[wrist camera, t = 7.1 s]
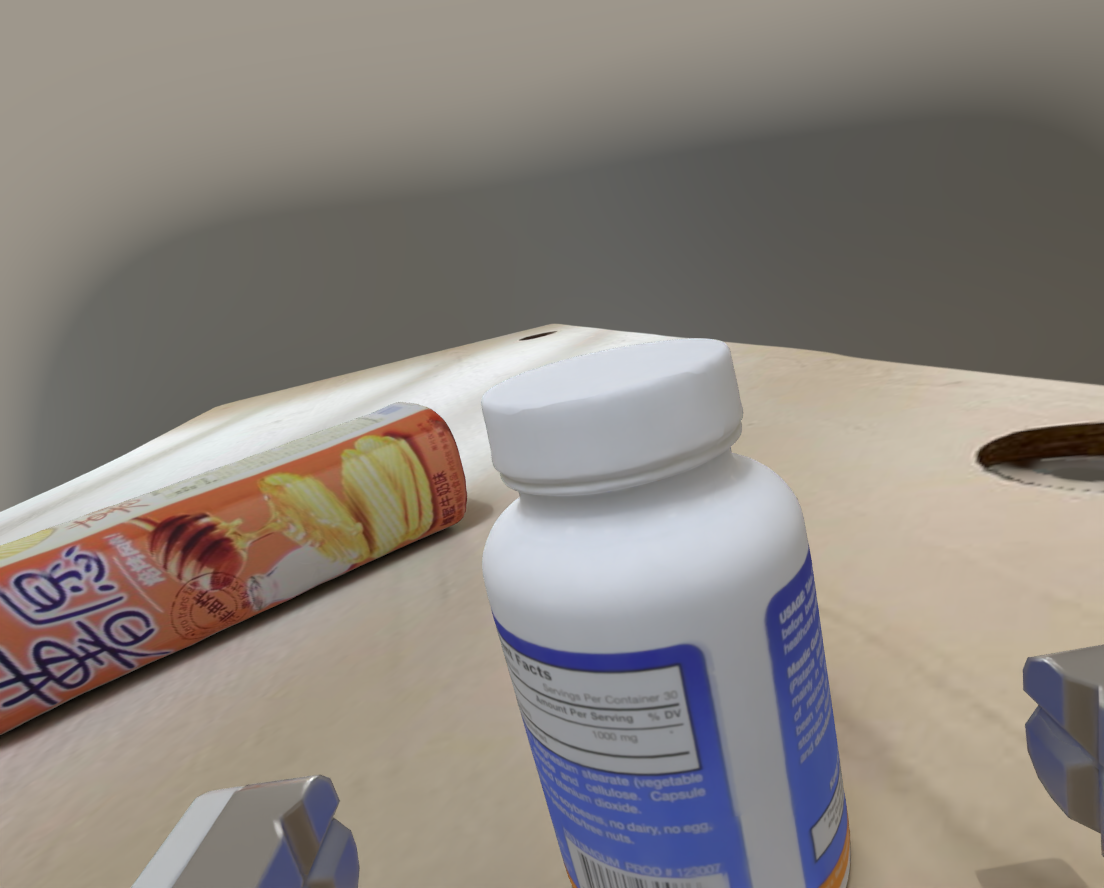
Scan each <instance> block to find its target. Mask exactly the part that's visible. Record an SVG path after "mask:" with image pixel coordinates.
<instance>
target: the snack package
mask: <svg viewBox="0 0 1104 888" xmlns="http://www.w3.org/2000/svg"><path fill="white" fill-rule="evenodd" d="M466 503H467V491H466V481H465V475H464V471H463V467H462V463H461V459H460V455H459V451H458V448H457V445H456V442H455V439H454V437H453V435H452V433H451V431H450V429H449V427H448V425H447V424H446V422H445V421H444V420H443V418H442V417H440V416H439V415H438V414H437V413H436V412H435V411H433V410H432V409H430V408H428V407H425V406H421V405H418V404H414V403H406V402H398V403H394V404H391V405H388V406H386V407H384V408H382V409H380V410H377V411H375V412H373V413H371V414H368V415H365V416H362V417H359V418H356V419H354V420H351V421H348V422H345V423H343V424H340V425H337V426H334V427H331V428H328V429H325V430H322V431H319V432H316V433H314V434H311V435H309V436H306V437H304V438H301V439H297V440H294V441H291V442H289V443H286V444H284V445H281V446H279V447H276V448H273V449H270V450H268V451H265V452H262V453H259V454H256V455H253V456H250V457H247V458H245V459H243V460H240V461H237V462H234V463H231V464H228V465H225V466H222V467H219V468H216V469H213V470H210V471H208V472H205V473H202V474H199V475H197V476H194V477H191V478H188V479H185V480H182V481H180V482H177V483H175V484H172V485H170V486H167V487H164V488H161V489H159V490H156V491H153V492H150V493H147V494H144V495H141V496H138V497H135V498H132V499H130V500H127V501H124V502H122V503H119V504H116V505H113V506H110V507H107V508H104V509H101V510H98V511H95V512H92V513H89V514H87V515H84V516H82V517H79V518H77V519H74V520H71V521H68V522H65V523H62V524H59V525H56V526H53V527H50V528H48V529H45V530H42V531H40V532H37V533H35V534H32V535H30V536H27V537H24V538H21V539H18V540H16V541H13V542H10V543H7V544H4V545H1V546H0V735H2V734H4V733H6V732H8V731H10V730H12V729H14V728H16V727H18V726H19V725H21V724H23V723H25V722H27V721H29V720H31V719H33V718H35V717H37V716H39V715H41V714H43V713H45V712H47V711H49V710H51V709H53V708H55V707H57V706H59V705H61V704H63V703H65V702H67V701H69V700H70V699H73V698H75V697H77V696H79V695H81V694H83V693H85V692H87V691H90V690H92V689H94V688H97V687H99V686H101V685H103V684H106V683H108V682H110V681H112V680H115V679H117V678H119V677H121V676H123V675H126V674H128V673H130V672H132V671H134V670H136V669H138V668H140V667H143V666H145V665H147V664H149V663H151V662H153V661H156V660H158V659H160V658H163V657H165V656H167V655H170V654H172V653H174V652H177V651H179V650H182V649H184V648H186V647H189V646H191V645H193V644H195V643H197V642H199V641H201V640H203V639H205V638H207V637H209V636H211V635H213V634H215V633H217V632H220V631H222V630H224V629H226V628H228V627H230V626H233V625H235V624H237V623H240V622H242V621H244V620H246V619H248V618H250V617H252V616H255V615H257V614H259V613H261V612H263V611H265V610H267V609H270V608H272V607H274V606H277V605H279V604H281V603H283V602H286V601H288V600H290V599H292V598H294V597H296V596H298V595H300V594H302V593H304V592H306V591H308V590H310V589H312V588H314V587H316V586H318V585H320V584H322V583H324V582H327V581H329V580H332V579H334V578H336V577H338V576H341V575H343V574H345V573H347V572H349V571H351V570H353V569H355V568H357V567H359V566H361V565H364V564H366V563H368V562H370V561H373V560H375V559H377V558H379V557H382V556H384V555H386V554H388V553H390V552H393V551H395V550H397V549H399V548H401V547H404V546H406V545H408V544H410V543H413V542H415V541H417V540H420V539H422V538H424V537H426V536H429V535H431V534H433V533H436V532H438V531H441V530H443V529H446V528H448V527H450V526H452V525H454V524H456V523H458V522H459V521H460V520H461V519H462V518H463V516H464V514H465V512H466Z"/></svg>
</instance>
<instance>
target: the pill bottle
mask: <svg viewBox="0 0 1104 888" xmlns="http://www.w3.org/2000/svg"><path fill="white" fill-rule="evenodd" d="M481 406H482V412H483V416H484V420H485V425H486V429H487V434H488V439H489V444H490V448H491V456H492V463H493V466H494V467H495V469H496V470H497V471H498V472H500V476H501V479H502V481H503V482H504V483H505V485H507V486H508V487H509V488H511V489H514V490H516V491H518V492H519V495H520V497H519V498H518V499H516V500H515V501H514V502H513V503H511V504H510V505H509V506H508V507H507V509H506V510H505V511H504V512H503V513H502V514H501V515H500V517H499V518H498V519H497V520H496V522H495V524H494V525H493V527H492V529H491V531H490V534H489V536H488V539H487V541H486V544H485V548H484V552H483V559H482V566H483V578H484V582H485V587H486V591H487V595H488V598H489V602H490V606H491V610H492V614H493V617H494V621H495V624H496V628H497V632H498V635H499V638H500V641H501V645H502V649H503V652H504V656H505V659H506V663H507V666H508V670H509V673H510V677H511V680H512V684H513V687H514V691H515V694H516V698H517V702H518V706H519V709H520V712H521V715H522V719H523V722H524V726H525V729H526V733H527V736H528V740H529V743H530V747H531V750H532V754H533V757H534V760H535V764H536V767H537V771H538V774H539V778H540V781H541V784H542V788H543V791H544V795H545V798H546V802H547V805H548V809H549V812H550V816H551V819H552V823H553V826H554V830H555V833H556V837H557V840H558V844H559V847H560V850H561V854H562V857H563V861H564V864H565V868H566V871H567V874H568V877H569V879H570V882H571V884H572V886H573V888H846V886H847V881H848V876H849V870H850V830H849V821H848V813H847V806H846V799H845V793H844V788H843V780H842V773H841V766H840V759H839V751H838V745H837V738H836V731H835V724H834V716H833V709H832V702H831V695H830V688H829V681H828V674H827V667H826V660H825V653H824V646H823V638H822V631H821V624H820V617H819V610H818V603H817V596H816V589H815V582H814V574H813V567H812V560H811V555H810V549H809V544H808V538H807V533H806V528H805V522H804V517H803V513H802V510H801V507H800V504H799V502H798V499H797V497H796V496H795V494H794V493H793V491H792V490H791V488H790V487H789V486H788V485H787V484H786V483H785V481H784V480H783V479H782V478H781V477H780V476H779V475H777V474H776V473H775V472H774V471H773V470H771V469H770V468H768V467H767V466H765V465H763V464H761V463H759V462H758V461H756V460H753V459H751V458H749V457H746V456H743V455H739V454H736V453H732V451H731V446H732V445H733V444H734V443H735V442H736V441H737V440H738V439H739V437H740V435H741V432H742V423H741V420H742V418H743V407H742V404H741V400H740V395H739V389H738V384H737V379H736V375H735V371H734V366H733V362H732V357H731V352H730V349H729V347H728V346H727V345H726V344H725V343H724V342H722V341H719V340H713V339H700V338H689V339H676V340H666V341H657V342H650V343H643V344H636V345H630V346H623V347H618V348H613V349H608V350H604V351H599V352H595V353H590V354H585V355H581V356H577V357H573V358H569V359H565V360H562V361H558V362H554V363H550V364H547V365H544V366H541V367H538V368H535V369H532V370H529V371H526V372H524V373H521V374H519V375H516V376H514V377H511V378H509V379H507V380H505V381H503V382H501V383H499V384H497V385H495V386H493V387H492V388H490V389H489V390H488V391H487V392H486V393H485V394H484V395H483V397H482V400H481Z"/></svg>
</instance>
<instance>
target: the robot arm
mask: <svg viewBox="0 0 1104 888" xmlns="http://www.w3.org/2000/svg"><path fill="white" fill-rule="evenodd" d="M1023 690H1024V691H1025V692H1026V693H1027V694H1028V695H1029V696H1030V697H1031V698H1032V699H1033V700H1034V701H1035V702H1036V703H1037V704H1038V707H1037V708H1036V709H1035V711H1034V712H1033V714H1032V715H1031V717H1030V718H1029V720H1028V721H1027V722H1026V724H1025V728H1026V739H1027V749H1028V753H1029V755H1030V758H1031V761H1032V763H1033V766H1034V768H1035V771H1036V773H1037V776H1038V778H1039V780H1040V781H1041V783H1042V784H1043V786H1044V787H1045V789H1046V791H1047V792H1048V794H1049V795H1050V797H1051V798H1052V799H1053V800H1054V802H1055V803H1056V804H1057V805H1058V806H1059V807H1060V809H1061V810H1062V811H1063V812H1064V813H1065V814H1066V815H1067V817H1068V818H1070V819H1072V820H1074V821H1076V822H1078V823H1080V824H1082V825H1084V826H1086V827H1088V828H1090V829H1092V830H1094V831H1096V832H1098V833H1101V851H1102V856H1103V857H1104V645H1098V646H1092V647H1086V648H1080V649H1075V650H1069V651H1063V652H1057V653H1051V654H1045V655H1040V656H1034V657H1028V658H1027V661H1026V663H1025V666H1024V668H1023ZM339 802H340V800H339V798H338V795H337V793H336V790H335V788H334V786H333V783H332V781H331V779H330V778H327V777H325V776H322V775H314V776H307V777H300V778H293V779H286V780H279V781H271V782H264V783H257V784H250V785H246V786H244V787H233V788H226V789H220V790H213V791H208V792H206V793H205V794H203V795H201V796H199V797H197V798H195V800H194V801H193V803H192V804H191V805H190V807H189V808H188V809H187V811H186V812H185V814H184V815H183V816H182V818H181V819H180V820H179V822H178V823H177V825H176V826H175V827H174V829H173V830H172V832H171V833H170V834H169V836H168V837H167V838H166V840H165V841H164V843H163V844H162V845H161V847H160V848H159V849H158V851H157V852H156V854H155V855H154V856H153V858H152V859H151V860H150V862H149V863H148V865H147V866H146V867H145V869H144V870H143V871H142V873H141V874H140V876H139V877H138V878H137V880H136V881H135V883H134V884H133V885H132V887H131V888H358V880H359V869H360V868H359V860H358V853H357V847H356V844H355V841H354V838H353V835H352V832H351V830H349V829H348V828H347V827H345V826H344V825H343V824H341V823H340V822H339V821H337V820H336V819H335V818H333V817H334V814H335V812H336V809H337V807H338V804H339Z"/></svg>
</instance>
